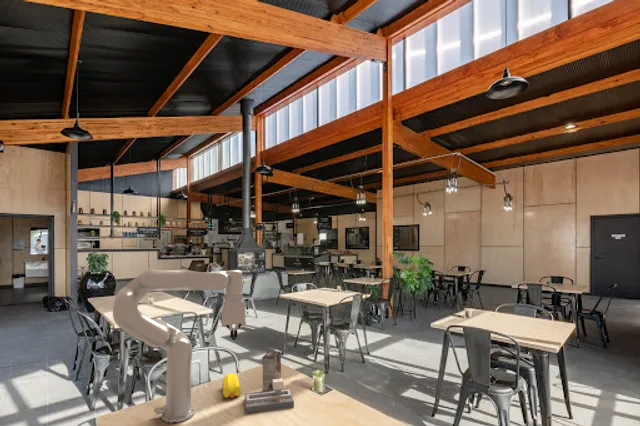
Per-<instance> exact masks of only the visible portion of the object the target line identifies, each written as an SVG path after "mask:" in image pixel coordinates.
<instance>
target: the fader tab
mask: <svg viewBox="0 0 640 426" xmlns="http://www.w3.org/2000/svg"><path fill="white" fill-rule="evenodd" d="M284 383H285V381H284V378H283V377H281V379H273V390H275V396H278V395H281V389H285V388H284V386H285V384H284Z"/></svg>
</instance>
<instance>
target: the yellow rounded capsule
mask: <svg viewBox="0 0 640 426" xmlns="http://www.w3.org/2000/svg"><path fill="white" fill-rule="evenodd" d="M240 387H241V386H240V380H239V375H237V374H236V373H235V372H233V373H226V374H225V376H224V377H223V379H222V395H223V397H225V398H226V399H227V398H230V399H233V398H235V397H239V396H240V394H241V388H240Z"/></svg>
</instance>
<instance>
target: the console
mask: <svg viewBox="0 0 640 426" xmlns="http://www.w3.org/2000/svg"><path fill="white" fill-rule="evenodd" d="M292 395H293V394H292V391H291V390H290V388H289V387H288V388H284V389H281V395H278V396H275V390H270V391H263V390H262V391H255V392H253V391H252V392H248V393H247V392H246V393H244V401H245V414H249V413H250V414H251V413H257V412H265V411H273V410H280V409H281V410H282V409H288V408H294V407H295V400H294V398H293V396H292Z"/></svg>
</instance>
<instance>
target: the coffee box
mask: <svg viewBox="0 0 640 426" xmlns="http://www.w3.org/2000/svg"><path fill="white" fill-rule="evenodd" d="M281 352H282V351H277V350H274V351H273V350H271V351H270V350H268V351H267V353H265V354H264V355H263V356H262V391H270V390H273V379H281V378H282V364H281V363H282V359H281V358H282V353H281Z"/></svg>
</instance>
